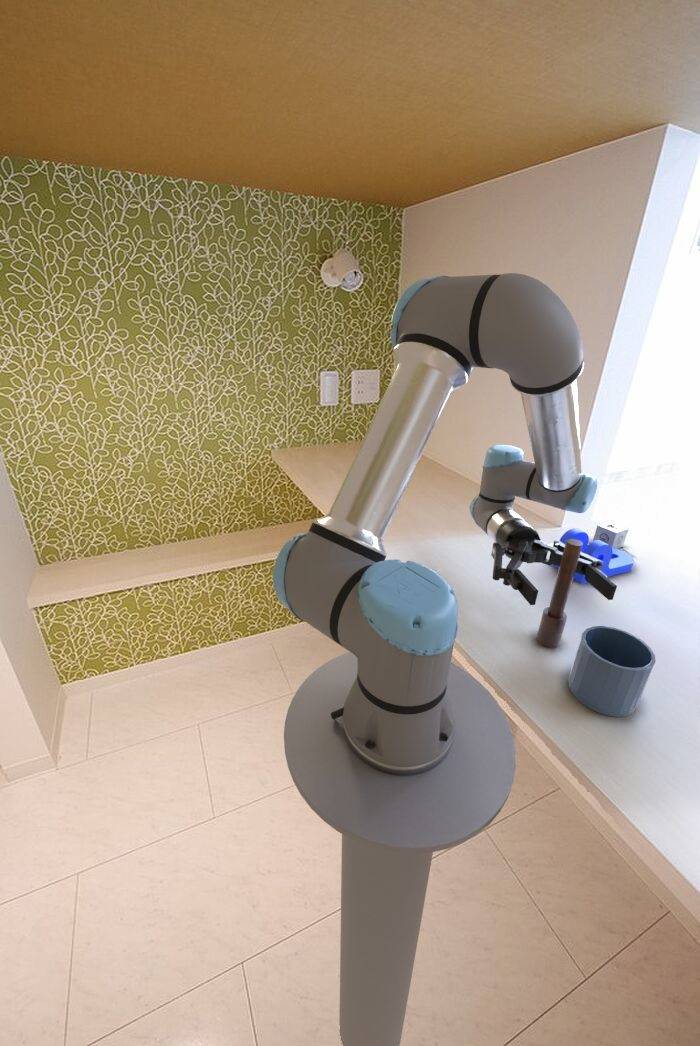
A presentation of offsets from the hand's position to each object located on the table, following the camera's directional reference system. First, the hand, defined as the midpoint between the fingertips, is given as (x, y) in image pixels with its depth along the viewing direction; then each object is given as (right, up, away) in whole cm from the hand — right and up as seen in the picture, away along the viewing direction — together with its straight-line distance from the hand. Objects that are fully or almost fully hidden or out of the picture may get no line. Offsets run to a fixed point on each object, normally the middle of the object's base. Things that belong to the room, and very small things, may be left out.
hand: (574, 595), depth 70 cm
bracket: (+21, +1, +32) cm, 38 cm away
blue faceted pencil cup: (+3, -14, -3) cm, 15 cm away
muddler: (-1, -9, +8) cm, 12 cm away
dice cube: (+30, +6, +42) cm, 52 cm away
